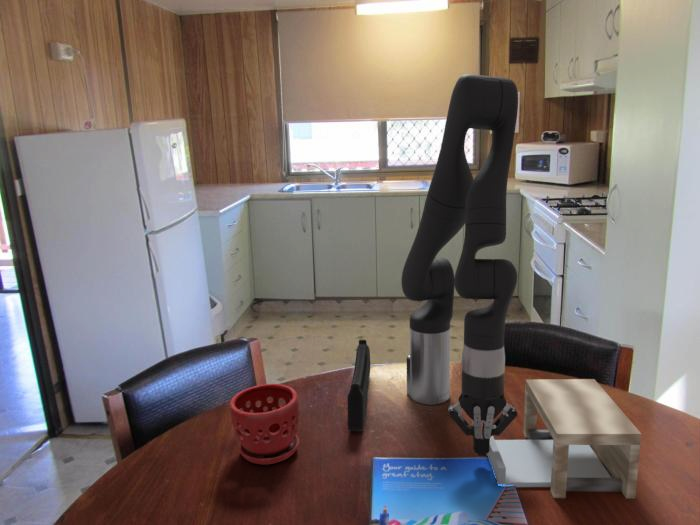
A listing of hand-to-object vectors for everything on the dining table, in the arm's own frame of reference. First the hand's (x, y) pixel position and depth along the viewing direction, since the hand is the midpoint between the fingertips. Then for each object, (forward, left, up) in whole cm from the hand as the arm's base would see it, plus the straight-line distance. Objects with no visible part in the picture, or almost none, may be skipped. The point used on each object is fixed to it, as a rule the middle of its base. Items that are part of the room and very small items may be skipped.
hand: (481, 453), depth 107 cm
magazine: (-35, +1, -3) cm, 35 cm away
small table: (+12, +12, -2) cm, 17 cm away
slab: (+8, +8, -2) cm, 12 cm away
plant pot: (-32, -26, -2) cm, 41 cm away
